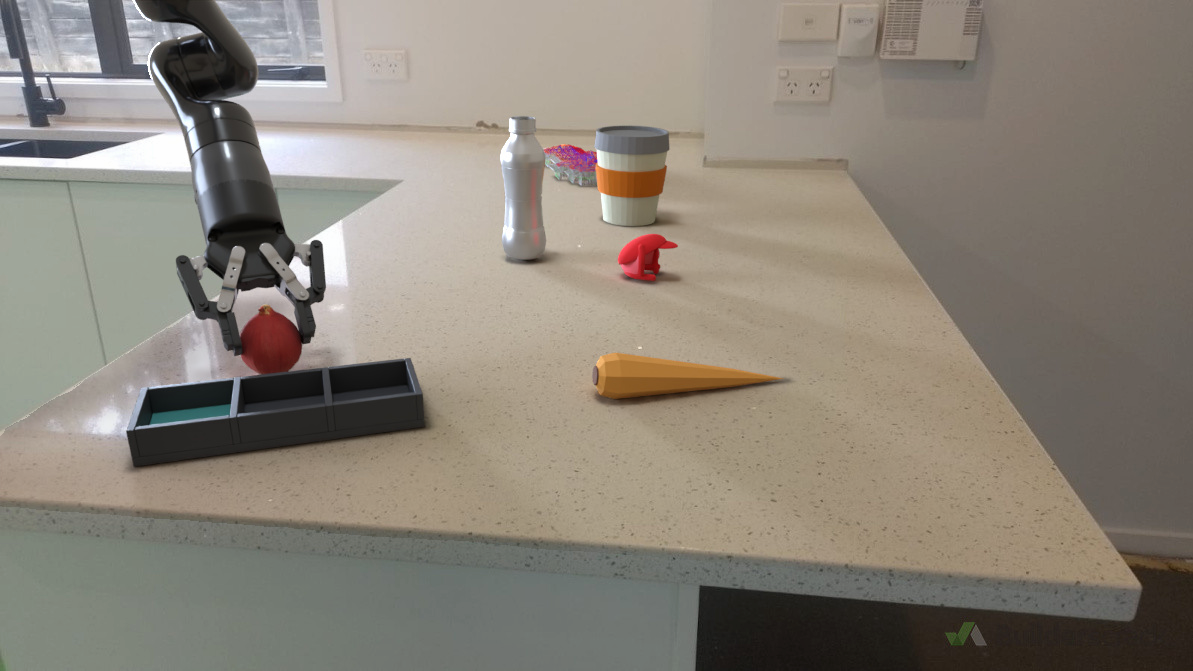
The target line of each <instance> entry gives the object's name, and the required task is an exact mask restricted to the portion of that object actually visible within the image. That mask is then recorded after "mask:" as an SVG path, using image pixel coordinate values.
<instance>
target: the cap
mask: <svg viewBox="0 0 1193 671" xmlns="http://www.w3.org/2000/svg"><path fill="white" fill-rule="evenodd" d="M678 247H679V245H678V244H677V243H676V242H674V241H670V240H667V239H666V237H665V236H663V235H661V234H658V233H647V234H643V235H640V236H637V237H636V238H633V239H632V240H630V241H629V242H627V243H626V244H625V245H624V246H623V247H622V249H621V250H620V252H619V253H618V255H617V263H618V265H619V266H620V267H621V269H622V271H623V272H624V274H625V275H626V276H627V277H629V278H630V279H635V280H640V281H649V282H655V281H656V279H657V276H656V275H658V274H659V273H660V269H661V264H660V263H659V259H660V257H661V256H660V253H661V252H660V250H673V249H676V248H678ZM645 271H647V272H648V271H649V272H653V274H651V273H645Z"/></svg>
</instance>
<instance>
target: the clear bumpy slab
mask: <svg viewBox="0 0 1193 671" xmlns="http://www.w3.org/2000/svg"><path fill="white" fill-rule="evenodd" d="M542 148H543V147H542ZM543 150H544V153H545V157H546V158H545V167H547V168H548V169H550V170H552V171H553V172H554V176H555V177H556V178H557V179H558V180H559V181H570V183H571V184H573V185H577V184H578V185H580V186H581V187H585V186H589V185H590V183H593V182H594V186H597V175H596V163H597V162H598V160H597V151H594V150H585V149H583V148H581V147H580V146H575V145H572V144H568V143H567V144H566V143H564V144H559V145H556V146H554V145H553V146H551V147H550V146H548V147H544V148H543ZM585 183H586V184H585ZM584 184H585V185H584Z"/></svg>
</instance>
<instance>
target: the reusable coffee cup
mask: <svg viewBox="0 0 1193 671" xmlns="http://www.w3.org/2000/svg"><path fill="white" fill-rule="evenodd" d="M594 149H595V150H596V152H597V160H598V162H597V163H596V175H597V183H596V186H597V191H598V192H599V193H600V200H601V211H602V219H603V221H604V222H606V223H608V224H610V225H615V226H621V227H643V226H648V225H651V224H654V223H655V222H656V217H657V212H658V205H659V202H660V195H661V194H663V191H664V185H665V180H666V175H667V171H668V170H667V169H668V166H667V164H666V162H667V157H668V156H667V155H668V152H669V151H670V149H671V148H670V133H669V131H668V130H667V129H664V128H661V127H655V126H645V125H609V126H602V127H598V128H596V132H595V139H594Z"/></svg>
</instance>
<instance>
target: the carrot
mask: <svg viewBox="0 0 1193 671" xmlns="http://www.w3.org/2000/svg"><path fill="white" fill-rule="evenodd" d="M591 378H592V383H593V385H594V386H595V388H596V390H597V392H598V394H599V396H601V397H605V398H609V399H612V400H619V399H629V398H639V397H648V396H649V397H650V396H657V395H669V394H676V393H686V392H688V393H689V392H696V391H706V390H715V389H716V390H717V389H726V388H733V387H734V388H735V387H742V386H748V385H753V384H761V383H764V382H765V383H766V382H772V381H777V380H784V379H785V378H784V377H778V376H773V375H769V374H768V375H767V374H762V373H759V372H752V371H747V370H742V369H737V368H730V367H723V366H718V365H717V366H716V365H710V364H702V363H694V362H688V361H679V360H674V359H666V358H658V357H650V356H644V355H636V354H629V353H622V352H611V353H607V354H603V355H600V356H599V358H598V360H597V362H596V364H595V365H594V366H593V368H592V377H591Z"/></svg>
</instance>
